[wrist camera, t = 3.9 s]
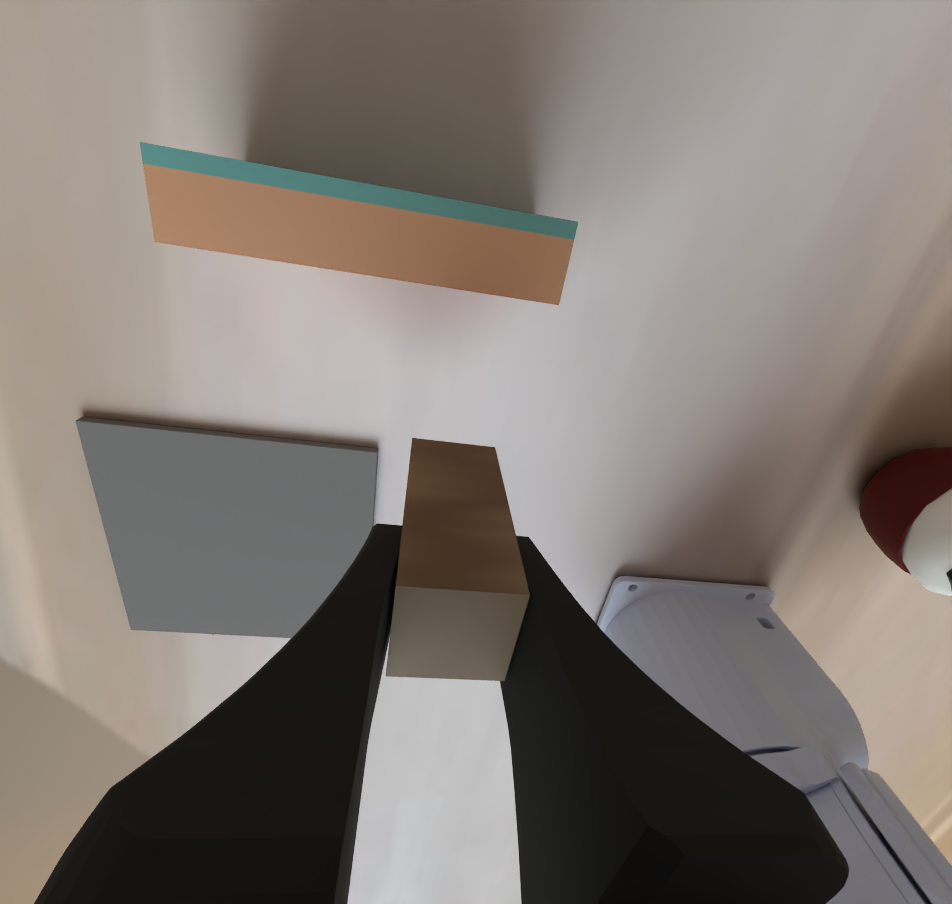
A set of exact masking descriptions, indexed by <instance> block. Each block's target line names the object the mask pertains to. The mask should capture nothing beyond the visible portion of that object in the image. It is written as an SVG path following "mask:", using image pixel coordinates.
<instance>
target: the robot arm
mask: <svg viewBox="0 0 952 904" xmlns="http://www.w3.org/2000/svg"><path fill="white" fill-rule="evenodd" d="M401 535H402V526H399V525H388V524H376V525H375V526H373V527H372V529H371V531H370V534H369V536H368V538H367V540H366V541H365V543H364V545H363V547H362V548H361V550H360V552H359V553H358V555H357V557H356V558H355V560H354V561H353V563H352V564H351V566H350V567H349V568H348V570H347V571H346V573H345V574H344V576H343V577H342V579H341V580H340V581H339V583H338V584H337V585H336V587H335V588H334V589H333V591H332V592H331V593H330V594H329V596H328V597H327V598H326V599H325V601H324V602H323V603H322V604H321V605H320V607H319V608H318V609H317V610H316V612H315V613H314V614H313V615H312V616H311V617H310V619H309V620H308V621H307V622H306V623H305V624H304V625H303V626H302V628H301V629H300V630H299V631H298V632H297V633H296V634H295V635H294V636H293V637H292V638H291V639H290V640H289V641H288V642H287V644H286V645H285V646H284V647H283V648H282V649H281V650H280V651H279V652H278V653H277V654H275V655H274V656H273V657H272V658H271V659H270V660H269V661H268V662H267V663H266V664H265V665H264V666H263V667H262V668H261V669H260V670H259V671H258V672H257V673H256V674H255V675H254V676H252V677H251V678H250V679H249V680H248V681H247V682H246V683H245V684H244V685H242V686H241V687H240V688H239V689H238V690H237V691H236V692H234V693H233V694H232V695H231V696H230V697H228V698H227V699H226V700H225V701H224V702H222V703H221V704H220V705H219V706H218V707H216V708H215V709H214V710H213V711H212V712H210V713H209V714H208V715H207V716H205V717H204V718H203V719H202V720H201V721H199V722H198V723H197V724H196V725H195V726H193V727H192V728H191V729H190V730H188V731H187V732H186V733H184V734H183V735H182V736H181V737H179V738H178V739H177V740H175V741H174V742H173V743H171V744H170V745H168V746H167V747H166V748H164V749H163V750H162V751H160V752H159V753H158V754H156V755H155V756H153V757H152V758H151V759H149V760H148V761H147V762H145V763H144V764H143V765H141V766H140V767H138V768H137V769H136V770H135V771H133V772H132V773H130V774H129V775H128V776H126V777H125V778H124V779H122V780H121V781H119V782H118V783H116V784H115V785H114V786H113V787H111V788H110V790H109V791H108V792H107V793H106V794H105V796H104V797H103V798H102V800H101V801H100V803H99V804H98V805H97V806H96V808H95V809H94V811H93V812H92V813H91V815H90V816H89V817H88V819H87V820H86V822H85V823H84V825H83V826H82V828H81V829H80V831H79V832H78V833H77V835H76V836H75V837H74V839H73V840H72V842H71V843H70V844H69V846H68V847H67V849H66V850H65V852H64V854H63V856H62V857H61V858H60V860H59V862H58V863H57V865H56V867H55V868H54V870H53V872H52V874H51V875H50V877H49V879H48V881H47V882H46V884H45V886H44V887H43V889H42V891H41V893H40V894H39V896H38V898H37V900H36V901H35V903H34V904H347V901H348V893H349V885H350V877H351V869H352V862H353V854H354V846H355V838H356V830H357V822H358V815H359V807H360V799H361V791H362V784H363V776H364V768H365V760H366V753H367V745H368V739H369V733H370V727H371V722H372V717H373V712H374V708H375V703H376V698H377V694H378V689H379V684H380V680H381V675H382V670H383V665H384V661H385V656H386V651H387V647H388V642H389V637H390V632H391V624H392V615H393V606H394V597H395V588H396V579H397V570H398V561H399V552H400V544H401ZM516 538H517V543H518V547H519V551H520V555H521V559H522V564H523V568H524V572H525V576H526V580H527V585H528V589H529V593H530V597H529V600H528V603H527V607H526V610H525V613H524V617H523V620H522V624H521V627H520V630H519V634H518V637H517V640H516V644H515V647H514V651H513V654H512V657H511V661H510V664H509V667H508V671H507V674H506V678H505V681H500V683H501V689H502V695H503V700H504V706H505V712H506V717H507V723H508V730H509V737H510V744H511V754H512V766H513V778H514V790H515V803H516V817H517V832H518V846H519V864H520V882H521V899H522V904H952V866H951V864H950V863H949V862H948V861H947V859H946V858H945V857H944V856H943V854H942V853H941V852H940V850H939V849H938V848H937V847H936V845H935V844H934V843H933V842H932V840H931V839H930V838H929V836H928V835H927V834H926V833H925V831H924V830H923V829H922V828H921V826H920V825H919V824H918V822H917V821H916V820H915V819H914V817H913V816H912V815H911V814H910V812H909V811H908V810H907V809H906V807H905V806H904V805H903V803H902V802H901V801H900V800H899V798H898V797H897V796H896V795H895V793H894V792H893V791H892V790H891V788H890V787H889V786H888V785H887V783H886V782H885V781H884V780H883V778H882V777H881V776H880V775H879V774H878V773H875V772H872V771H870V770H868V763H869V758H868V749H867V744H866V740H865V737H864V734H863V731H862V728H861V726H860V723H859V721H858V719H857V717H856V715H855V712H854V710H853V709H852V707H851V706H850V704H849V702H848V701H847V699H846V698H845V697H844V695H843V694H842V693H841V691H840V690H839V689H838V688H837V687H836V685H835V684H834V683H833V682H832V681H831V679H830V678H829V677H828V676H827V675H826V673H825V672H824V671H823V670H822V669H821V667H820V666H819V665H818V664H817V663H816V661H815V660H814V659H813V658H812V657H811V655H810V654H809V653H808V652H807V651H806V649H805V648H804V647H803V646H802V645H801V643H800V642H799V641H798V640H797V639H796V637H795V636H794V635H793V634H792V633H791V631H790V630H789V629H788V628H787V627H786V625H785V624H784V623H783V622H782V621H781V619H780V618H779V617H778V616H777V615H776V614H775V612H774V611H773V610H772V609H771V608H770V606H769V605H770V604H771V602H772V600H773V599H774V596H775V594H774V592H773V591H772V590H771V589H770V588H769V587H763V586H750V585H737V584H724V583H711V582H698V581H684V580H671V579H658V578H645V577H632V576H620V577H618V578H616V579H615V580H614V582H613V584H612V587H611V589H610V592H609V594H608V597H607V599H606V602H605V604H604V607H603V610H602V612H601V615H600V617H599V620H598V622H597V624H596V623H595V622H594V621H593V620H592V618H591V617H590V616H589V615H588V614H587V613H586V612H585V610H584V609H583V608H582V607H581V606H580V604H579V603H578V602H577V601H576V599H575V598H574V597H573V596H572V594H571V593H570V592H569V591H568V589H567V588H566V587H565V586H564V584H563V583H562V582H561V580H560V579H559V578H558V576H557V575H556V574H555V572H554V571H553V570H552V568H551V567H550V565H549V564H548V563H547V561H546V560H545V559H544V557H543V556H542V554H541V553H540V552H539V550H538V549H537V548H536V546H535V545H534V543H533V542H532V541H531V539H530V538H529V537H523V536H516ZM631 585H632V586H631Z"/></svg>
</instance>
